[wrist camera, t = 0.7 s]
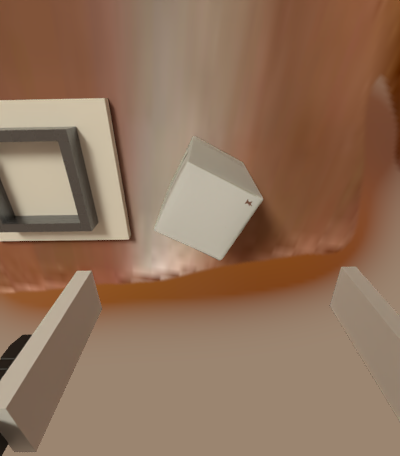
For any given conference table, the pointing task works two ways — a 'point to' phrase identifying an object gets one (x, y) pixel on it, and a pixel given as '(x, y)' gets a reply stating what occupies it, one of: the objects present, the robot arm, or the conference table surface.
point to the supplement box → (208, 200)
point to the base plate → (62, 167)
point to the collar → (77, 175)
